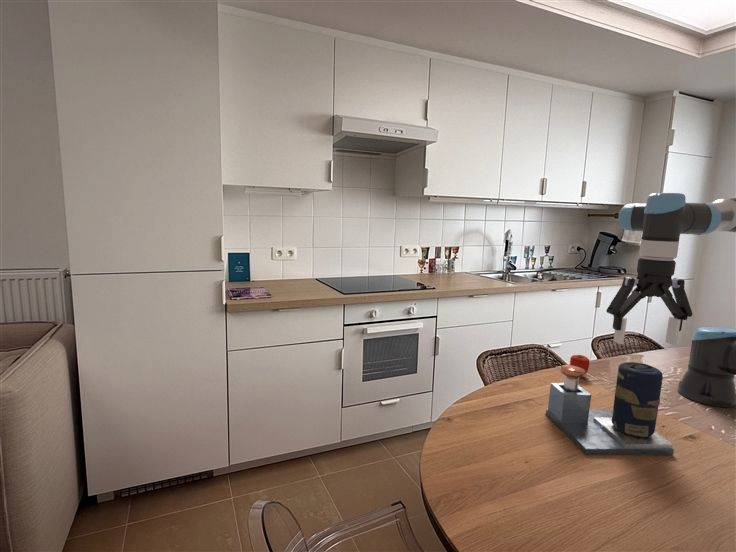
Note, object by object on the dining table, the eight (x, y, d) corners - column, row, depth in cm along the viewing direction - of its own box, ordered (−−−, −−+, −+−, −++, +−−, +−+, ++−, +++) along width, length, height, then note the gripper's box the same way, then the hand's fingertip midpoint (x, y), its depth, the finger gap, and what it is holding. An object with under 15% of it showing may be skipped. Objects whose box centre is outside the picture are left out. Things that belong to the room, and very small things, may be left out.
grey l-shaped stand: (619, 414, 120) (623, 383, 118) (673, 455, 100) (679, 418, 99) (545, 413, 119) (549, 382, 117) (585, 454, 99) (590, 417, 97)
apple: (570, 371, 153) (572, 351, 152) (588, 375, 149) (591, 355, 148) (566, 376, 148) (569, 356, 147) (586, 380, 144) (588, 360, 143)
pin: (573, 394, 117) (577, 365, 116) (585, 404, 111) (589, 373, 110) (553, 394, 117) (556, 364, 115) (564, 403, 111) (568, 373, 109)
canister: (661, 442, 101) (672, 372, 98) (618, 437, 103) (628, 368, 100) (643, 423, 110) (653, 358, 107) (605, 418, 112) (613, 355, 109)
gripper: (693, 258, 104) (680, 339, 107) (597, 255, 102) (587, 337, 106) (720, 261, 96) (705, 348, 100) (617, 258, 95) (605, 347, 98)
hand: (644, 343), depth 103 cm, fingers open, 13 cm apart
